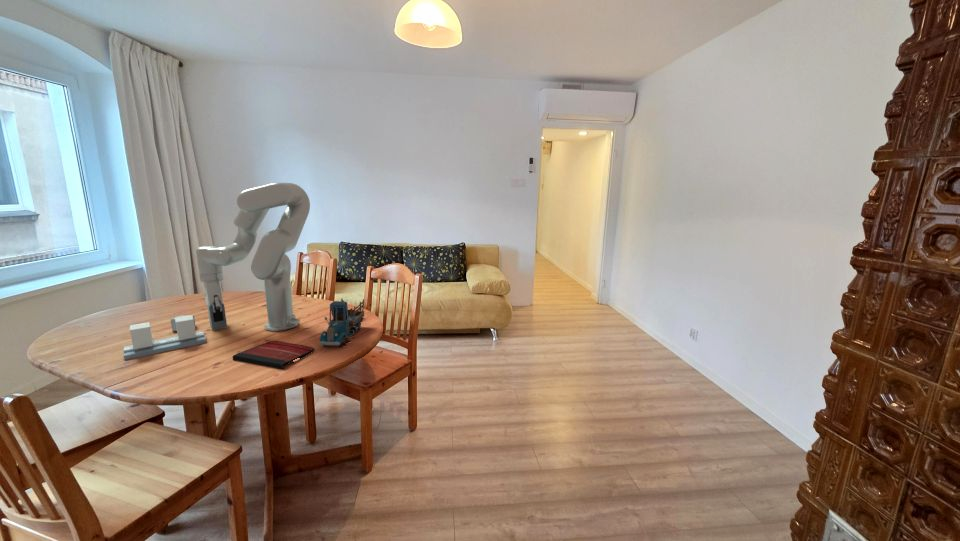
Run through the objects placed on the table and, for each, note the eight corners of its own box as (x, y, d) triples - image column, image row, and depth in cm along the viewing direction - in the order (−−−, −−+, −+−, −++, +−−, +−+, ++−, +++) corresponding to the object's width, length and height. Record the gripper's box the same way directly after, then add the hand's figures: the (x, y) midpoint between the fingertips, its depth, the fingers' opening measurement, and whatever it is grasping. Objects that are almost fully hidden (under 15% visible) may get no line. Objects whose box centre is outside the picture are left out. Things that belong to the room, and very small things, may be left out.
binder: (282, 364, 116) (231, 355, 122) (282, 371, 117) (232, 361, 122) (317, 346, 132) (271, 338, 137) (317, 352, 132) (271, 344, 138)
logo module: (224, 323, 155) (221, 299, 152) (227, 327, 150) (223, 303, 148) (210, 326, 151) (206, 302, 149) (212, 330, 147) (208, 305, 145)
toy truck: (315, 349, 132) (311, 310, 128) (342, 324, 156) (340, 291, 153) (344, 350, 131) (341, 311, 128) (367, 325, 156) (365, 292, 152)
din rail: (203, 333, 140) (203, 331, 140) (204, 336, 137) (204, 334, 137) (124, 349, 125) (123, 347, 125) (124, 352, 123) (123, 350, 123)
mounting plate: (202, 334, 143) (202, 331, 142) (206, 342, 135) (205, 338, 135) (125, 350, 128) (124, 346, 128) (124, 360, 121) (123, 355, 121)
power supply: (195, 326, 151) (194, 315, 150) (187, 331, 146) (185, 319, 145) (180, 326, 150) (178, 315, 149) (172, 330, 146) (170, 319, 145)
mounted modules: (194, 332, 139) (191, 314, 137) (196, 336, 135) (193, 319, 133) (133, 344, 128) (130, 325, 126) (133, 349, 123) (129, 330, 122)
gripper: (197, 274, 150) (203, 315, 154) (202, 282, 138) (209, 327, 141) (219, 271, 155) (224, 311, 159) (226, 279, 143) (232, 322, 146)
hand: (217, 318), depth 150 cm, fingers closed on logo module, 6 cm apart
